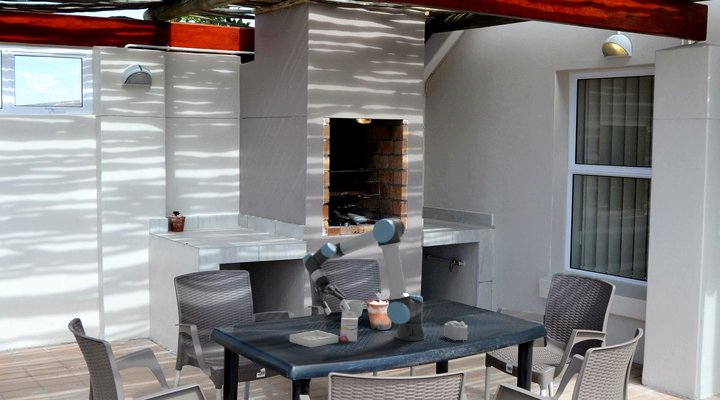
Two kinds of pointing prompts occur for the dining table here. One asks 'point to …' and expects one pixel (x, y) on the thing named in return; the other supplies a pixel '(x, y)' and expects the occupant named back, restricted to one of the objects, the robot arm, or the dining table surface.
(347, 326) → the ink cartridge box
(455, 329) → the lumpy-topped squat cylinder
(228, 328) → the dining table surface
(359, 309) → the teacup
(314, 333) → the tray
